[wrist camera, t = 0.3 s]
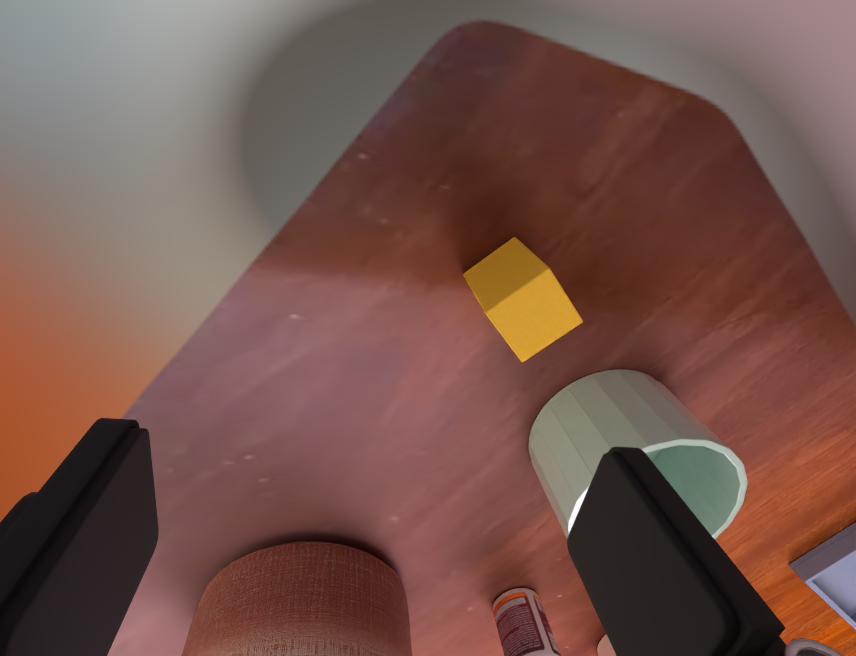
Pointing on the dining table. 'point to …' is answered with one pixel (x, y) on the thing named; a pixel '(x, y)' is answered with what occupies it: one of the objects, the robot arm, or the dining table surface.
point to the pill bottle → (523, 624)
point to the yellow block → (522, 298)
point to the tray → (833, 572)
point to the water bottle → (605, 647)
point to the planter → (302, 605)
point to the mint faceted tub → (632, 445)
